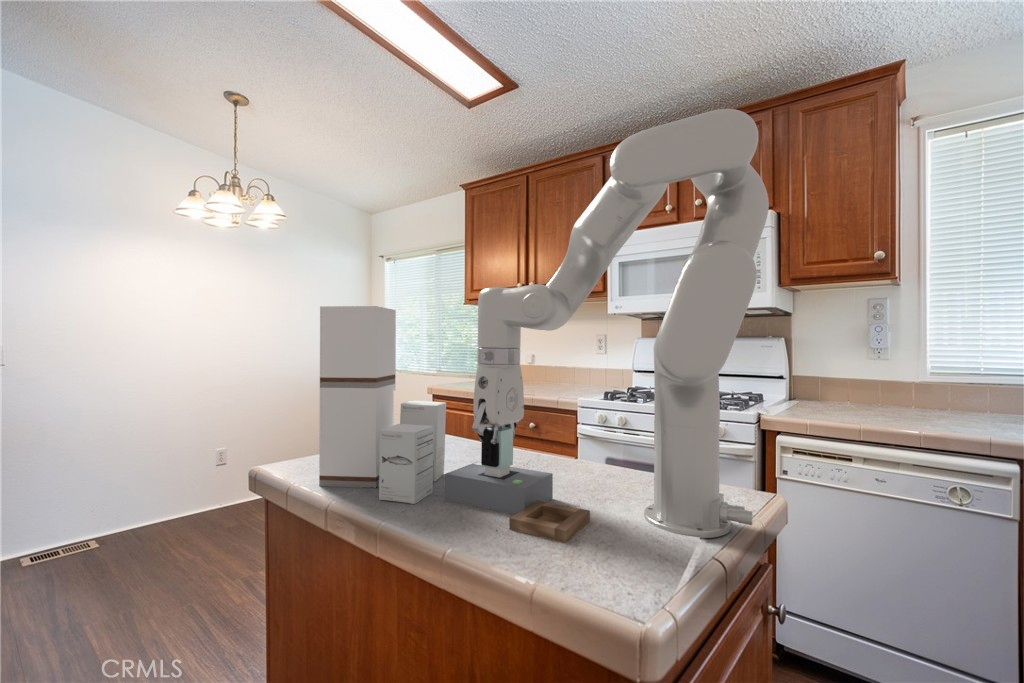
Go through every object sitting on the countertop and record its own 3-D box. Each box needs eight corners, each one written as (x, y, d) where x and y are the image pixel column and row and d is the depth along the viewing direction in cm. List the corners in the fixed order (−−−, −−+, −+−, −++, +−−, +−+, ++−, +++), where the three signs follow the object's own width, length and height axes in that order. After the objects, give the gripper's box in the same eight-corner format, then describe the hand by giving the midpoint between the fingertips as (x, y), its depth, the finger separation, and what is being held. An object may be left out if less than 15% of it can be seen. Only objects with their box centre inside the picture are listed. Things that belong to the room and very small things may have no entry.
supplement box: (377, 501, 83) (377, 429, 83) (399, 488, 90) (399, 422, 90) (414, 505, 80) (415, 431, 80) (434, 492, 87) (434, 424, 87)
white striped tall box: (395, 472, 100) (395, 310, 101) (375, 487, 90) (376, 306, 90) (344, 471, 102) (344, 310, 102) (319, 486, 91) (320, 306, 91)
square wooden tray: (589, 525, 72) (590, 510, 72) (565, 546, 64) (565, 530, 64) (537, 513, 76) (537, 500, 76) (509, 533, 69) (509, 518, 69)
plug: (512, 473, 83) (513, 422, 83) (500, 478, 79) (501, 425, 79) (493, 469, 85) (494, 420, 85) (481, 474, 81) (481, 423, 81)
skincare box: (397, 480, 95) (397, 403, 95) (408, 471, 101) (409, 399, 101) (437, 482, 94) (437, 404, 94) (446, 473, 100) (446, 400, 100)
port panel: (552, 501, 82) (552, 471, 82) (524, 520, 74) (524, 486, 74) (477, 487, 90) (477, 459, 90) (444, 502, 82) (445, 472, 82)
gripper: (490, 360, 73) (488, 477, 73) (539, 358, 87) (538, 456, 87) (452, 359, 77) (450, 470, 77) (505, 356, 91) (504, 450, 91)
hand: (497, 461), depth 82 cm, fingers closed on plug, 4 cm apart
